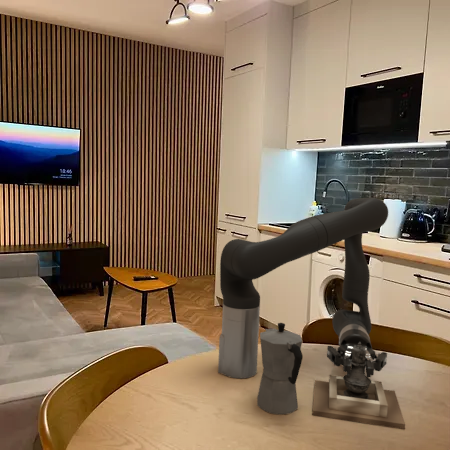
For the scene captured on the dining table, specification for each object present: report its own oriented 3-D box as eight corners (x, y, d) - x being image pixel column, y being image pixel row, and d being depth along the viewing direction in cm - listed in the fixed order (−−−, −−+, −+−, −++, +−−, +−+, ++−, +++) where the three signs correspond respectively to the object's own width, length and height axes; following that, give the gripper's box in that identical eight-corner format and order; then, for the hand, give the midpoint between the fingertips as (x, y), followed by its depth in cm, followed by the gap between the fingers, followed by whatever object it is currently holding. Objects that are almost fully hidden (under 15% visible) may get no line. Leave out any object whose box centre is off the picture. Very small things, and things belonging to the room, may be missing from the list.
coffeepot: (245, 392, 101) (249, 315, 99) (283, 388, 104) (287, 312, 102) (275, 428, 87) (279, 338, 85) (317, 422, 90) (322, 335, 88)
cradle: (312, 415, 92) (313, 398, 92) (314, 384, 107) (315, 370, 107) (404, 429, 88) (406, 412, 88) (394, 395, 103) (395, 380, 103)
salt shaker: (343, 399, 95) (347, 345, 94) (341, 387, 101) (344, 335, 100) (372, 402, 94) (376, 348, 93) (368, 390, 100) (371, 338, 99)
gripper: (326, 325, 112) (325, 350, 95) (385, 331, 109) (395, 358, 92) (324, 354, 113) (323, 384, 96) (383, 361, 110) (393, 393, 93)
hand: (359, 371), depth 94 cm, fingers closed on salt shaker, 3 cm apart
